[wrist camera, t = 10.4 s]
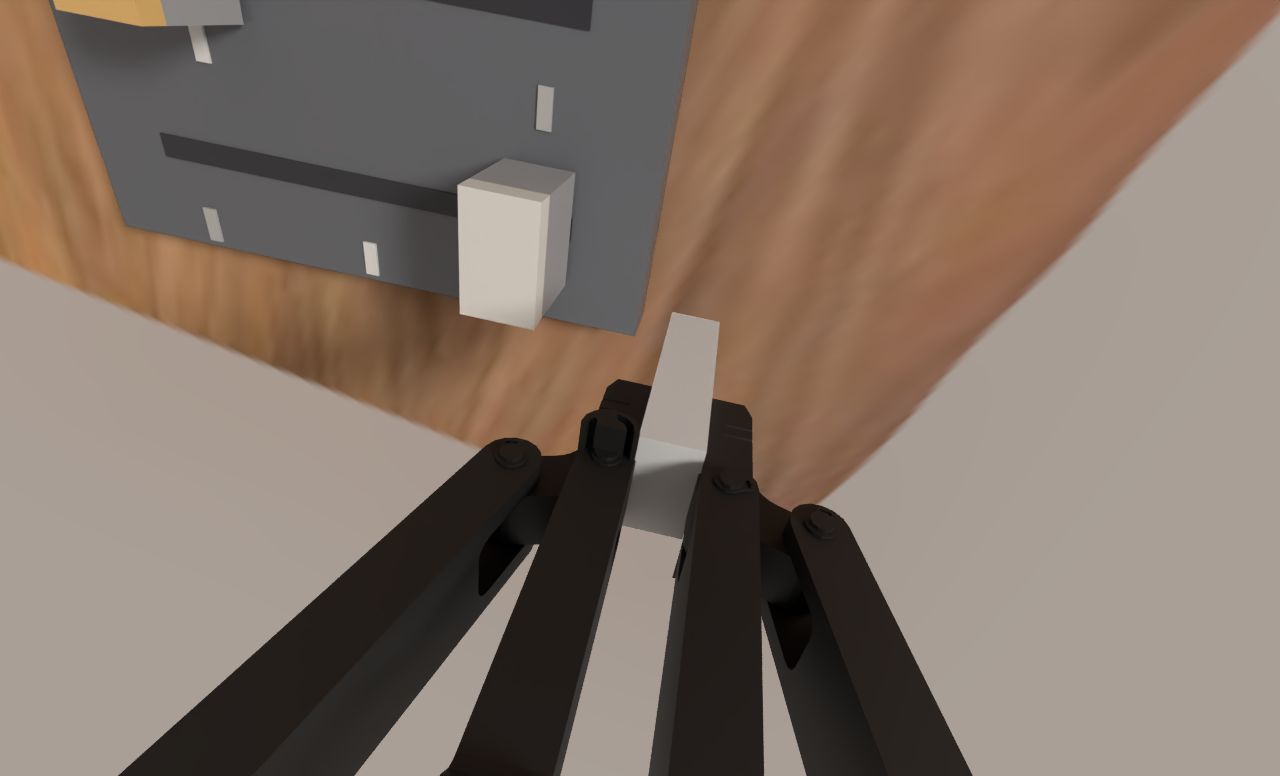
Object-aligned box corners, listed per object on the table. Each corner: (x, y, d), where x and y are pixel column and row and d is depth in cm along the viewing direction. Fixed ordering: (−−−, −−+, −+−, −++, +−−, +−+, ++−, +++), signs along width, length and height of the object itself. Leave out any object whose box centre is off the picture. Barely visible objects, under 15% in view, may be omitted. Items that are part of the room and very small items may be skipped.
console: (55, -167, 23) (-19, -186, 21) (706, -48, 22) (701, -55, 19) (167, 211, 31) (123, 226, 29) (642, 314, 30) (634, 337, 28)
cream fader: (504, 158, 24) (457, 185, 20) (575, 172, 24) (541, 202, 20) (501, 271, 27) (459, 314, 23) (565, 284, 27) (533, 330, 23)
